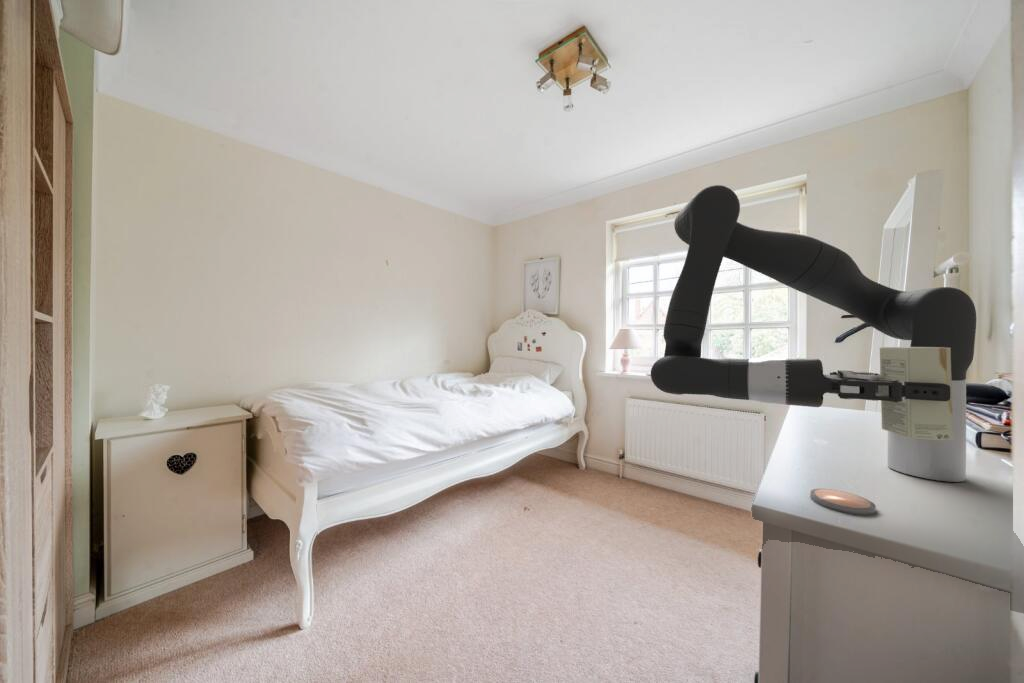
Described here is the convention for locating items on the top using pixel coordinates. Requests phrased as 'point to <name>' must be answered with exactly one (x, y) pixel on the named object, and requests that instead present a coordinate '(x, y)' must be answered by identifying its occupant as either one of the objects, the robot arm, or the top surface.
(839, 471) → the top surface
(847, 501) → the tile
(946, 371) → the skincare box
